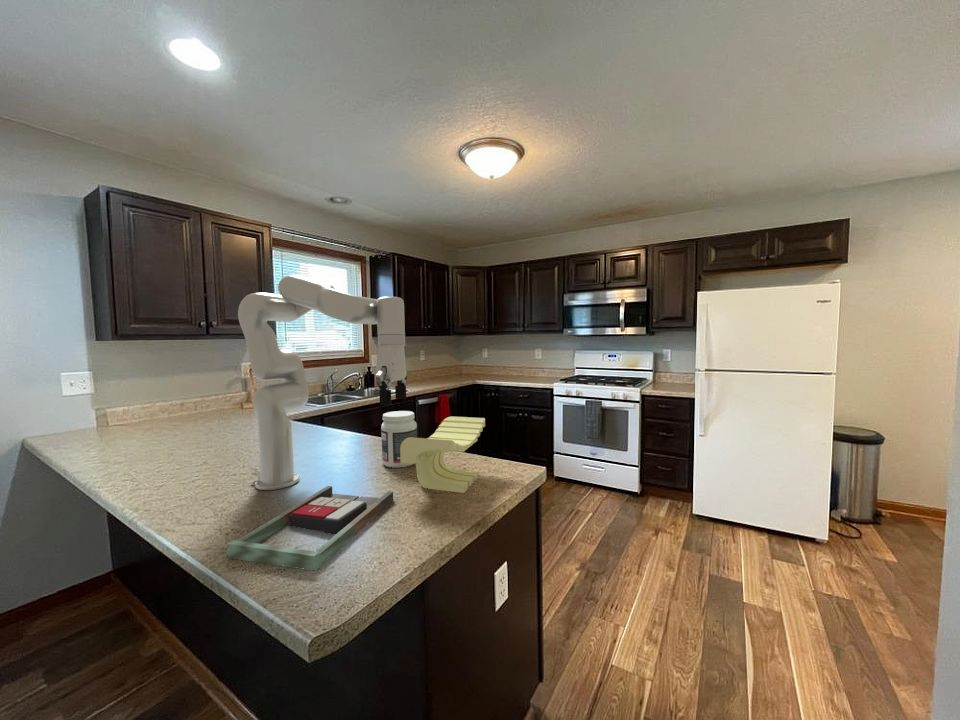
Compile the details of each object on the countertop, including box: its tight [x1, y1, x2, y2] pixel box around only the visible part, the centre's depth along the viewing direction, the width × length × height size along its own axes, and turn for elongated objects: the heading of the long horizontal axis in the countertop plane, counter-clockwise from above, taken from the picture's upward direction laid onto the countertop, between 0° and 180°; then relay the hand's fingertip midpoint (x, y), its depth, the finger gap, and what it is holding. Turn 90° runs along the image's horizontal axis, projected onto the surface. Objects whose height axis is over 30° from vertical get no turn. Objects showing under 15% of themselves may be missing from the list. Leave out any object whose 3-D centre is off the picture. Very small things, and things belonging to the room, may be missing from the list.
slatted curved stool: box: [400, 416, 486, 494], centre depth 122 cm, size 30×16×18 cm, turn 162°
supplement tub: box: [380, 410, 418, 469], centre depth 141 cm, size 13×13×18 cm
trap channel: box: [226, 485, 394, 571], centre depth 95 cm, size 21×34×3 cm, turn 166°
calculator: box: [289, 497, 367, 536], centre depth 97 cm, size 11×4×15 cm
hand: (393, 401), depth 110 cm, fingers open, 9 cm apart
